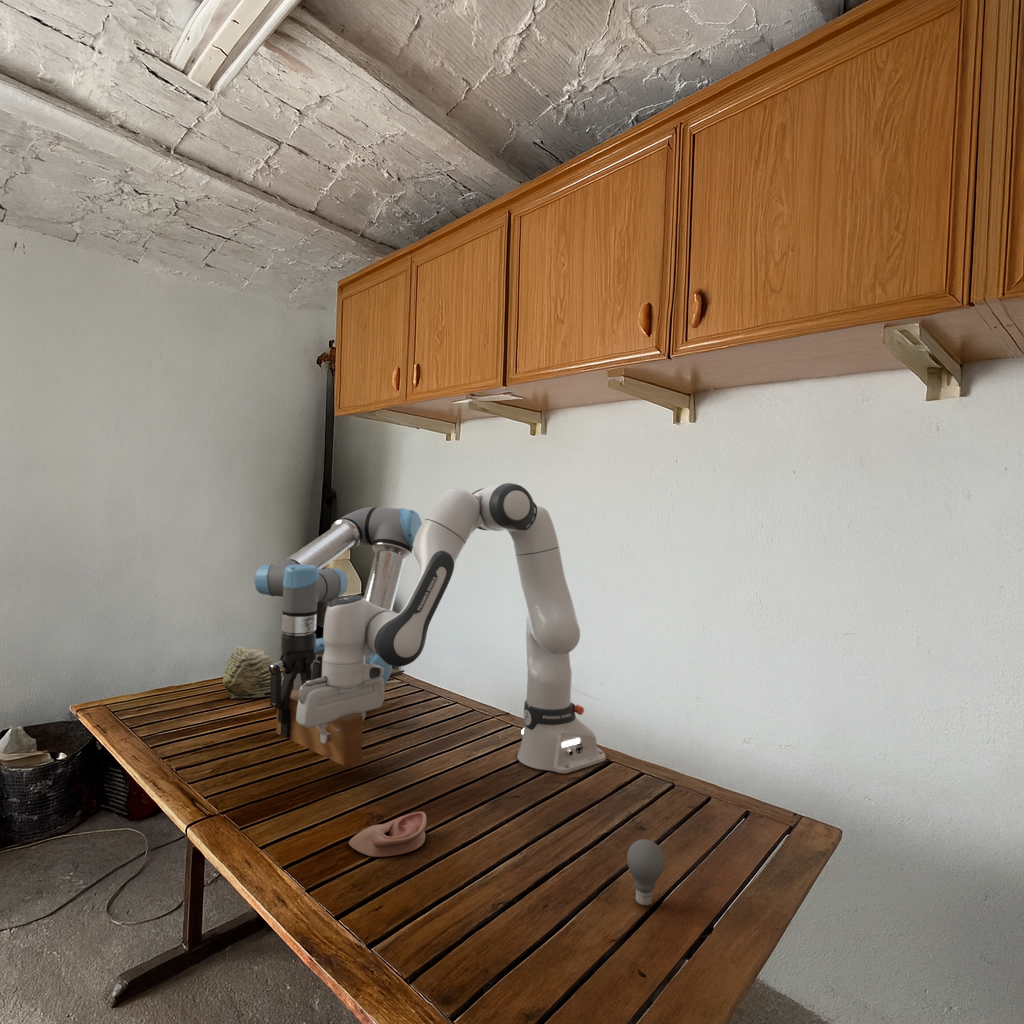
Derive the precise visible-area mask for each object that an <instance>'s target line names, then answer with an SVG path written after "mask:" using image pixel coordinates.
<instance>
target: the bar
mask: <svg viewBox="0 0 1024 1024" xmlns="http://www.w3.org/2000/svg"><path fill="white" fill-rule="evenodd" d="M298 700H299V690H296V689H294V688H292V692H291V696H290V701H289V705H288V708H290V709H291V724H290V738H286V739H287V740H289V741H291V742H293V743H296V744H298V745H300V746H302V747H304V748H306V749H308V750H310V751H312V752H314V753H316V754H319V755H320V756H322V757H324V758H326V759H328V760H330V761H333V762H334V763H336V764H338V765H341V766H343V767H345V766H348V765H351V764H354V763H356V762H359V761H362V754H363V753H362V751H363V749H362V748H363V728H364V727H363V726H364V720H363V716H362V715H360V714H357V713H353V714H349V715H346V716H342V717H339V718H338V720H334V721H331V722H328V724H327V727H326V728H325V729H326V731H327V732H328V733H330V734H331V742H328V743H325V744H324V743H322V742H321V741H320V733H319V731H318V729H317V728H316V726H314V727H310V728H305V727H303V726H301V725H299V724H298V723H297V721H296V713H297V706H298ZM275 722H276V723H275V724H276V725H275V733H276V734H277V735H279V736H281V735H280V733H281V723H279V722H278V709H276V721H275Z"/></svg>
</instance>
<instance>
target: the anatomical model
mask: <svg viewBox="0 0 1024 1024" xmlns="http://www.w3.org/2000/svg"><path fill="white" fill-rule="evenodd" d="M427 821H428V819H427V814H426V813H425V812H424V811H414V812H411V813H408V814H404V815H402V816H399V817H396V818H395V819H391V820H390V821H388V822H385V823H382V824H381V823H380V824H374V825H371V826H369V827H366V828H364V829H362V830H361V831H359V832H358V833H356V834H355V835H354V836H352V837H351V838H350V839H349V841H348V845H349V847H351V848H352V849H353V850H355V851H356V852H358V853H360V854H362V855H365V856H367V857H371V858H372V857H373V858H382V857H391V856H399V855H403V854H407V853H410V852H412V851H413V852H414V851H415V850H417V849H419V848H420V847H422V846H423V845H424V843H425V842H426V832H425V829H426V827H427Z"/></svg>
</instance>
